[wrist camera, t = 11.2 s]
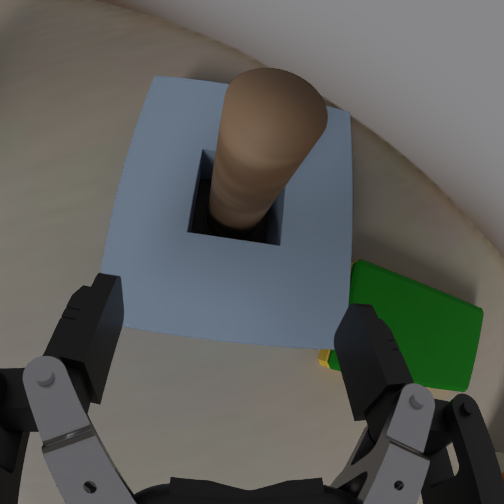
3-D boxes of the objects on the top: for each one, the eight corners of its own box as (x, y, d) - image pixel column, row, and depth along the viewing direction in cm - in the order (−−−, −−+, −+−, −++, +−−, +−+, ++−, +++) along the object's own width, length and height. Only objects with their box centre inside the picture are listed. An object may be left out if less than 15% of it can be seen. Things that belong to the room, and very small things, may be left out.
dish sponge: (448, 388, 21) (467, 392, 19) (313, 362, 20) (328, 368, 18) (466, 311, 23) (485, 309, 21) (341, 263, 22) (357, 257, 19)
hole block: (113, 319, 18) (93, 320, 14) (158, 110, 21) (154, 75, 17) (317, 343, 20) (343, 349, 16) (328, 140, 23) (349, 112, 19)
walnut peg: (203, 238, 20) (215, 138, 8) (210, 191, 20) (232, 60, 9) (253, 246, 20) (327, 160, 9) (258, 199, 21) (326, 81, 9)
